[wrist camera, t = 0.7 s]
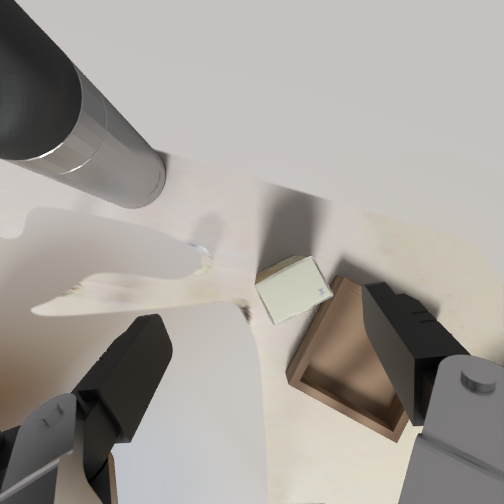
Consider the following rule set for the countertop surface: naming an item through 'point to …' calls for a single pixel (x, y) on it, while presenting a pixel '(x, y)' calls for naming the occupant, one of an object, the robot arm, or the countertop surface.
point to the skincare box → (291, 287)
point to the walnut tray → (346, 365)
